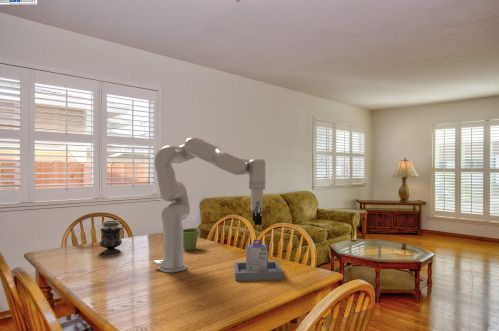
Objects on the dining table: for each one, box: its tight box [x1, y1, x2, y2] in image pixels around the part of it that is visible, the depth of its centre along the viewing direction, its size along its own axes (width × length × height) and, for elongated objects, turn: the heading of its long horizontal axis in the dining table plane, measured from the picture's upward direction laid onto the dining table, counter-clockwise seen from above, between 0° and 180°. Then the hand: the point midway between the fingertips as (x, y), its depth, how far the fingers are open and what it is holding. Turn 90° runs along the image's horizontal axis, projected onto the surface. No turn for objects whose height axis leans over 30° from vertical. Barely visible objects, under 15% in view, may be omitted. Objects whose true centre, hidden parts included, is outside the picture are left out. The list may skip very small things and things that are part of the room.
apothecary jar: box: [99, 220, 123, 255], centre depth 195 cm, size 12×12×18 cm
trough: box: [233, 260, 284, 282], centre depth 154 cm, size 21×16×4 cm
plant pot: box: [183, 228, 200, 251], centre depth 201 cm, size 12×12×11 cm
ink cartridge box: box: [245, 239, 269, 272], centre depth 154 cm, size 10×6×14 cm, turn 84°
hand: (256, 223), depth 154 cm, fingers open, 9 cm apart
